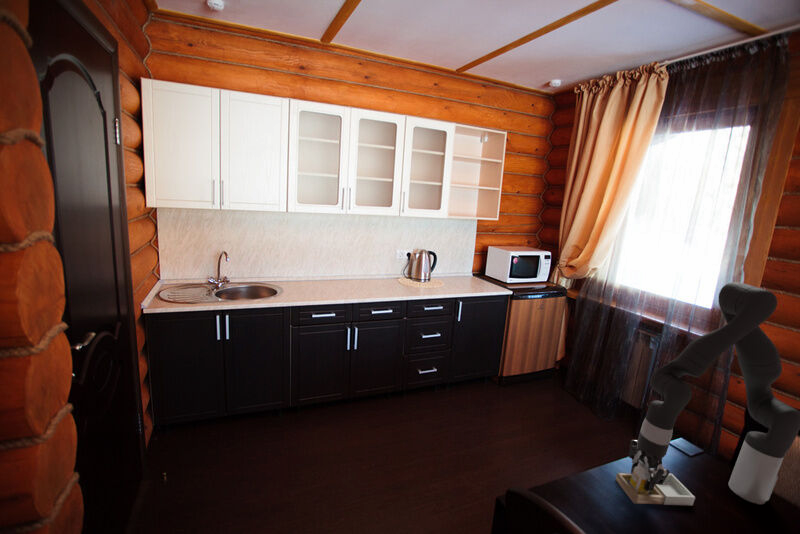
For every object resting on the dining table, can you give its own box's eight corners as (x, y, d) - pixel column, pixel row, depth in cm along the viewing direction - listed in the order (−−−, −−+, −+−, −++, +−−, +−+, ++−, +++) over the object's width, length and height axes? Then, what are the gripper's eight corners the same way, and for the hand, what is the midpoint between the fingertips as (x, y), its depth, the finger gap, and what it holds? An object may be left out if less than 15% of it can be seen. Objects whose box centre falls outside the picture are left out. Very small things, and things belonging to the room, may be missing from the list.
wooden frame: (641, 480, 123) (643, 474, 123) (662, 504, 114) (664, 497, 114) (615, 479, 122) (617, 472, 122) (634, 503, 114) (636, 496, 113)
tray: (669, 481, 124) (671, 473, 124) (692, 505, 115) (695, 497, 114) (642, 480, 123) (644, 472, 123) (663, 504, 114) (666, 496, 114)
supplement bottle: (625, 489, 119) (633, 463, 116) (632, 481, 122) (639, 456, 120) (644, 501, 115) (652, 475, 112) (650, 493, 118) (658, 467, 116)
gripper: (685, 453, 107) (669, 502, 111) (649, 420, 121) (636, 465, 125) (661, 452, 106) (645, 501, 110) (627, 419, 120) (615, 464, 124)
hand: (640, 482), depth 118 cm, fingers closed on supplement bottle, 5 cm apart
